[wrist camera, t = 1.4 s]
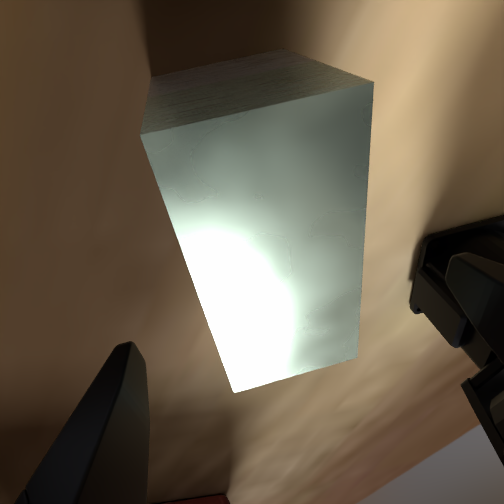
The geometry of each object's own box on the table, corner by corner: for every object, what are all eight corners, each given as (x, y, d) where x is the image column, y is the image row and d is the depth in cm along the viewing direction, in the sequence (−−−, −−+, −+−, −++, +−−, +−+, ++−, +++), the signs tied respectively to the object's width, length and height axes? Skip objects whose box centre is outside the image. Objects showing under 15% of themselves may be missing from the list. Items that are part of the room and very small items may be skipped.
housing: (282, 48, 13) (374, 82, 7) (300, 253, 19) (357, 357, 13) (151, 76, 12) (140, 135, 7) (213, 276, 18) (234, 393, 13)
